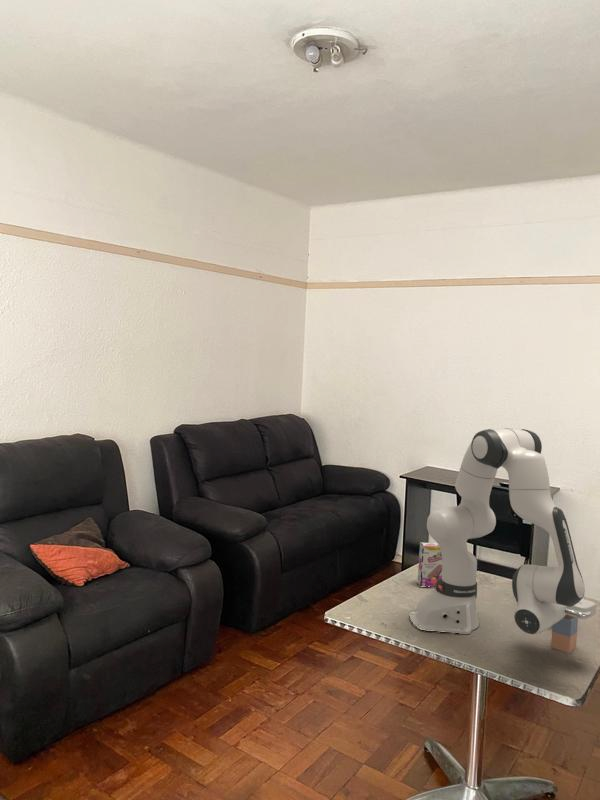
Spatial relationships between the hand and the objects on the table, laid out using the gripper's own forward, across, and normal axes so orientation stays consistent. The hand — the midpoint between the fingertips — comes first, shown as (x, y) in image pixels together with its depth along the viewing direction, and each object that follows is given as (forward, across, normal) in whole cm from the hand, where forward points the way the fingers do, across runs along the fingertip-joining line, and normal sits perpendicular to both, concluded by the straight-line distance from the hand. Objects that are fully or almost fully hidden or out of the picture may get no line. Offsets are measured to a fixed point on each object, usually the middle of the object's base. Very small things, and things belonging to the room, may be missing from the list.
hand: (567, 594), depth 194 cm
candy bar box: (+14, +55, +17) cm, 60 cm away
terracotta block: (-1, 0, +16) cm, 16 cm away
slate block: (-1, 0, +11) cm, 11 cm away
